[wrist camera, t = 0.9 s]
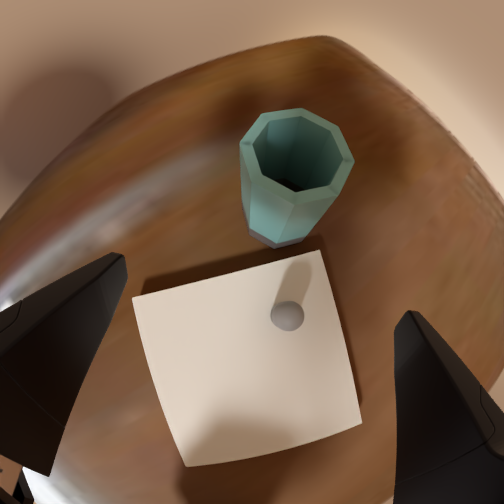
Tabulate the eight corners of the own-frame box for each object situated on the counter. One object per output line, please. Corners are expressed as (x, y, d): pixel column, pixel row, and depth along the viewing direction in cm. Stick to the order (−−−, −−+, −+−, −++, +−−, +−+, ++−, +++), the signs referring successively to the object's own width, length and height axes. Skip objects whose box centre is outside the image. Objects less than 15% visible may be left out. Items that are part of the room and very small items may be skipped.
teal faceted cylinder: (319, 237, 23) (366, 189, 13) (254, 254, 23) (260, 213, 13) (299, 177, 24) (327, 105, 14) (237, 191, 24) (232, 119, 14)
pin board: (355, 417, 20) (379, 439, 15) (189, 458, 19) (177, 488, 14) (315, 253, 23) (332, 238, 18) (138, 298, 22) (112, 295, 17)
